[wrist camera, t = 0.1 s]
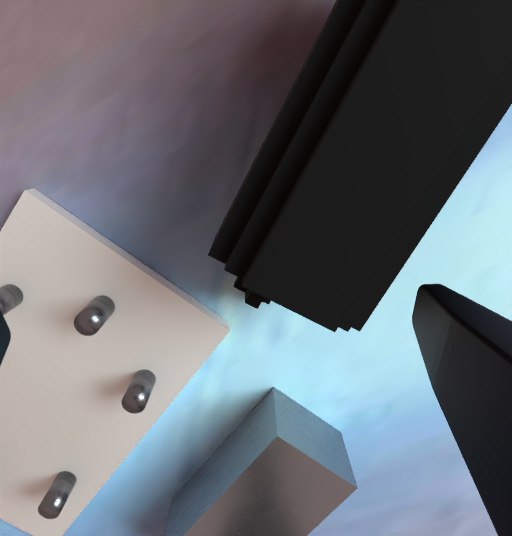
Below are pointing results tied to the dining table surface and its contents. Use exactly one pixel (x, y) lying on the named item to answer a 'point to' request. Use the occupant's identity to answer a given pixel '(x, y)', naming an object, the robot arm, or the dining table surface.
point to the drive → (267, 477)
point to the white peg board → (83, 360)
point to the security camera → (367, 153)
